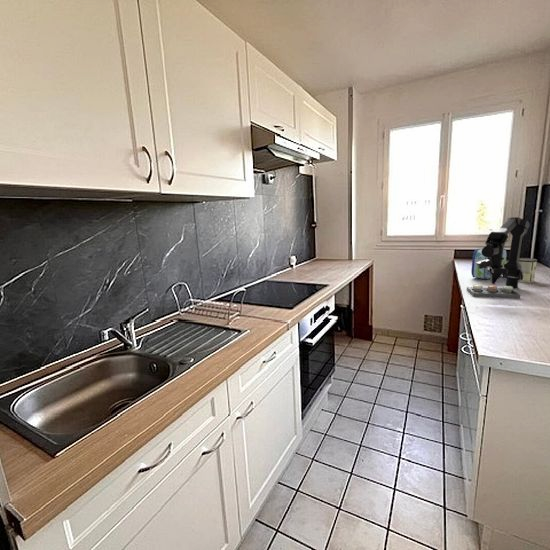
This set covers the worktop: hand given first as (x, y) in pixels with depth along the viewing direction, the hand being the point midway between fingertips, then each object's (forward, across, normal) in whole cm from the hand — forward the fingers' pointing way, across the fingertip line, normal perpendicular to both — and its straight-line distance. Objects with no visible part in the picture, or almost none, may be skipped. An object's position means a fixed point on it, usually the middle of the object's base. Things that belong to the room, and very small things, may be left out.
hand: (493, 283), depth 167 cm
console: (+7, 0, 0) cm, 7 cm away
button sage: (+5, 0, +7) cm, 8 cm away
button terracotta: (+5, 0, 0) cm, 5 cm away
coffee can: (+7, -43, +30) cm, 53 cm away
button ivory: (+5, 0, -7) cm, 9 cm away
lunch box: (+7, -51, +12) cm, 53 cm away
